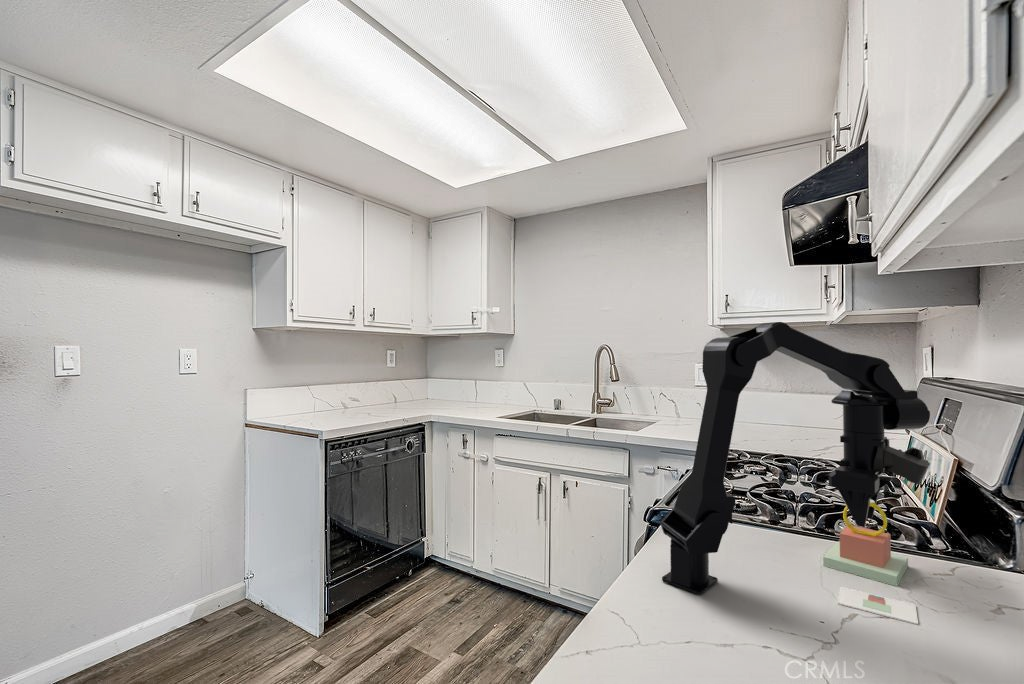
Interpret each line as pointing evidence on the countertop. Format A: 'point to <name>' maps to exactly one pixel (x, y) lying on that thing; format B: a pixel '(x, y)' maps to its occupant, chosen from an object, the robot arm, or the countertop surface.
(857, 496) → the robot arm
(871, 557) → the brick
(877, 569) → the baseplate
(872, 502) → the watch
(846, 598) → the page
